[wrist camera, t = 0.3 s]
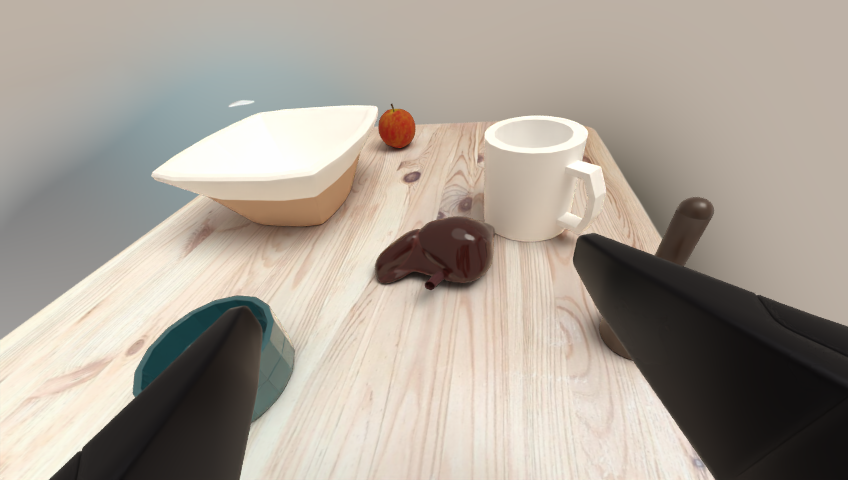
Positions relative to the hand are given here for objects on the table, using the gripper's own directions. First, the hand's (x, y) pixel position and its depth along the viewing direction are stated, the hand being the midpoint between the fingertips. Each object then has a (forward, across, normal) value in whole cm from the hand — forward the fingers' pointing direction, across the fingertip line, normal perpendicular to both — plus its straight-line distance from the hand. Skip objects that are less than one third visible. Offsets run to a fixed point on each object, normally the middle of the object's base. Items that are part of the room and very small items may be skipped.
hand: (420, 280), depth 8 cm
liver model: (+19, -3, +17) cm, 26 cm away
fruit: (+54, -3, +16) cm, 57 cm away
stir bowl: (+11, +16, +17) cm, 26 cm away
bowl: (+39, +14, +16) cm, 44 cm away
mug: (+24, -16, +17) cm, 33 cm away
